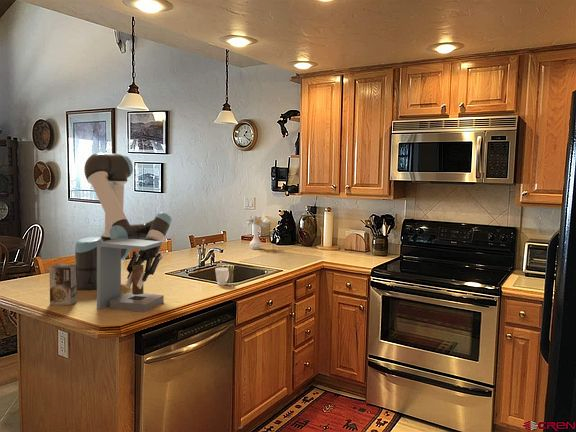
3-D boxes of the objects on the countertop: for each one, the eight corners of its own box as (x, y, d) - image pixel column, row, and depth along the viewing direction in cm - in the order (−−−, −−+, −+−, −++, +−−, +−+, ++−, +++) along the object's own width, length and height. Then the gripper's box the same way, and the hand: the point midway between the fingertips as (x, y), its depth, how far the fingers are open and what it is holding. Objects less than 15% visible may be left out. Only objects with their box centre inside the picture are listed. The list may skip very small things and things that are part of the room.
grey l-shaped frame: (96, 308, 194) (97, 242, 192) (117, 299, 209) (118, 238, 206) (143, 314, 190) (144, 246, 187) (161, 304, 204) (162, 241, 202)
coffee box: (77, 301, 204) (77, 264, 203) (71, 305, 198) (71, 267, 197) (56, 300, 204) (55, 263, 203) (49, 304, 198) (48, 266, 196)
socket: (109, 307, 196) (109, 300, 196) (130, 298, 212) (130, 291, 212) (144, 311, 193) (144, 304, 193) (163, 301, 208) (163, 295, 208)
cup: (211, 284, 244) (212, 269, 243) (222, 280, 253) (222, 266, 252) (223, 286, 241) (223, 270, 240) (233, 282, 250) (234, 267, 249)
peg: (130, 294, 200) (130, 266, 199) (135, 291, 204) (135, 264, 203) (139, 295, 199) (140, 267, 198) (145, 292, 204) (145, 265, 202)
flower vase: (269, 248, 367) (270, 216, 365) (255, 250, 352) (256, 217, 350) (256, 246, 374) (257, 214, 372) (241, 248, 359) (242, 216, 357)
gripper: (173, 248, 213) (155, 293, 199) (138, 246, 217) (117, 289, 202) (168, 238, 208) (149, 283, 193) (132, 236, 212) (110, 280, 197)
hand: (133, 286), depth 198 cm, fingers closed on peg, 4 cm apart
